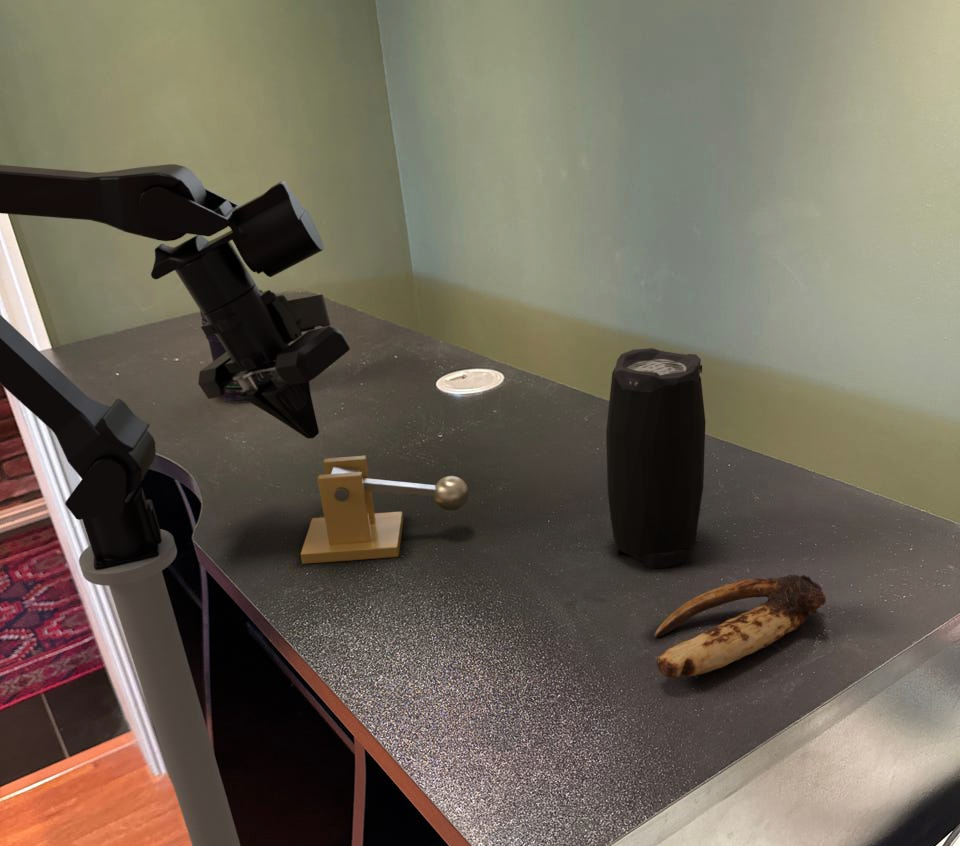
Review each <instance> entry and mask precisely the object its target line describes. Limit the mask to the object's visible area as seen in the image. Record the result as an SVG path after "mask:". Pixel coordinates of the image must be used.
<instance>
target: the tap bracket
mask: <svg viewBox="0 0 960 846" xmlns="http://www.w3.org/2000/svg"><path fill="white" fill-rule="evenodd" d="M322 464H323V470H324V474H318V477H317V484H318V490H319V495H320V500H321V506H322V511H323V516H322V517H321V516H320V517H312V518H311V520H310V523H309V527H308V529H307V533H306V536H305V539H304V542H303V545H302V548H301V552H300V560H301V563H302V564H303V565H307V564H320V563H321V564H322V563H334V562H335V563H336V562H345V561H347V562H348V561H360V560H374V559H389V558H398V557H399V556H400V549H401V542H402V536H403V535H402V534H403V529H404V528H403V527H404V521H405V520H404V514H403V511H401V510H400V511H389V512H388V511H387V512H376V513H375V506H374V499H373V492H370V491H365V488H364V481H363V478H367V479H371V478H370V472H369V467H368V466H369V465H368V461H367V455H356V456H355V455H354V456H341V457H327V458H324V459H323V461H322ZM333 467H343V468H353V469H360V472H351V473H338V474H331V472H332V469H333Z"/></svg>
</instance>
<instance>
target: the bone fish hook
mask: <svg viewBox="0 0 960 846" xmlns="http://www.w3.org/2000/svg"><path fill="white" fill-rule="evenodd" d="M822 589H823V588H822V587H821V585H819V584H818V583H817V582H815V581H813V580H812V578H811V577H810V576H806V575H805V574H803V575H800V576H799V575H797V574H788V575H785V576H781V577H776V578H775V577H767V578H752V579H751V578H750V579H745V580H738V581H736V582H731V583H728V584H724V585H722V586H720V587H716V588H713V589H711V590H708V591H706V592H704V593H702V594H699V595H698V596H696V597H694V598H692V599H690V600H688V601H687V602H685V603H684V604H682V605H681V606H679V607H678V608H677V609H676V610H674V611H673V612H672V613H671V614H669V615H668V616H667V617H666V619H665V620H664V621H663V622H662V623H661V624H660V626H659V627H658V628H657V629H656V631H655V632H654V638H660V637H662V636H663V635H666V634H667V633H669V632H671V631H672V630H674V629H676V628H677V627H679V626H680V625H682V624H683V623H685V622H686V621H687V620H689V619H691V618H693V617H694V616H696V615H698V614H700V613H702V612H705V611H707V610H710V609H713V608H716V607H720V606H722V605H725V604H729V603H733V602H735V601H740V600H745V599H751V598H767V600H766V601H765V602H763V603H761V604H759V605H758V606H757V607H754V608H752V609H751V610H748V611H745V612H743V613H740V614H739V615H737V616H735V617H732V618H729V619H727V620H725V621H723V622H722V623H721V624H718V625H717V626H715V627H713V628H711V629H709V630H707V631H705V632H703V633H700V634H698V635H696V636H695V637H693V638H690V639H689V640H684V641H681V642H679V643H678V644H676V645H673V646H672V647H670V648H668V649H666V650H665V652H663V653H661V654H660V655H658V656H657V658H656V665H657V669H658V670H659V672H660V673H661V674H662V675H663V676H664V677H666V678H670V679H676V678H679V677H680V676H681V675H682V676H685V677H686V678H687V677H688V678H689V677H694V676H695V677H696V676H699V675H703V674H706V673H710V672H713V671H715V670H718V669H721V668H724V667H726V666H727V665H728V666H729V664H731V663H733V662H735V661H739V660H741V659H743V658H744V657H747V656H748V655H751V654H754V653H755V652H757V651H759V650H762V649H763V648H767V647H769V646H770V645H771V644H773V643H775V642H776V641H777V640H780V639H781V638H783V637H784V636H785V635H787V634H789V633H792V632H794V631H795V630H797V629H798V628H799V627H800V626H801V625H802V624H804V623H805V622H806V620H807V618H809V617H812V616H813V615H814V614H816V613H817V611H818V609H820V608H821V606H823V605H825V604H826V602H827V601H826V600H827V599H826V595H825V593H824V592H823V590H822Z"/></svg>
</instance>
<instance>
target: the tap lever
mask: <svg viewBox="0 0 960 846" xmlns="http://www.w3.org/2000/svg"><path fill="white" fill-rule="evenodd" d="M351 472H360V469H353V468H343V467H333V469H332V472H331V474H338V473H351ZM363 481H364V488H365V491H370V492H372V493H381V494H391V495H402V496H411V497H421V498H429V499H430V498H431V499H434V501H435V503H436V504H437V505H438V506H439V507H440V508H441V509H443V510H446V511H457V510H459V509H461V508H462V507H464V505H465V504H466V503H467V501H468V498H469V487H468V485H467V484H466V482H465V481H464V480H463V479H462V478H461V477H458V476H456V475H447V476H444V477H442V478H440V479H439V480H438V481H437V482H436V484H425V483H416V482H408V481H407V482H406V481H397V480H396V481H395V480H385V479H377V478H370V479H367V478H363Z"/></svg>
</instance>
